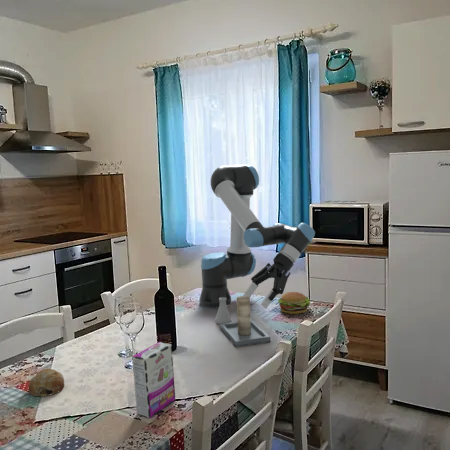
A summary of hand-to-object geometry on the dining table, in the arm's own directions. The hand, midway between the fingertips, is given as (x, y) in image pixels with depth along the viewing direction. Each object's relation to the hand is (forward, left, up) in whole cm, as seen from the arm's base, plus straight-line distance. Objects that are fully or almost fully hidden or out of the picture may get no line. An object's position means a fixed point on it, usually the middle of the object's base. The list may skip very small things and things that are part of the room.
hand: (254, 301), depth 178 cm
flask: (-18, -7, -13) cm, 23 cm away
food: (-20, +26, -13) cm, 35 cm away
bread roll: (+19, -74, -13) cm, 77 cm away
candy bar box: (+42, -44, -13) cm, 62 cm away
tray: (0, -4, -13) cm, 13 cm away
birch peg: (0, -4, -12) cm, 13 cm away
